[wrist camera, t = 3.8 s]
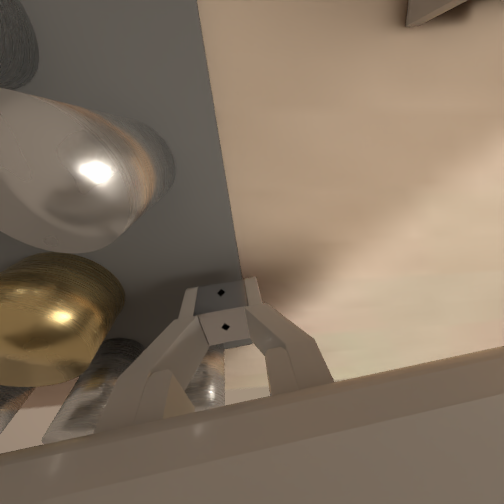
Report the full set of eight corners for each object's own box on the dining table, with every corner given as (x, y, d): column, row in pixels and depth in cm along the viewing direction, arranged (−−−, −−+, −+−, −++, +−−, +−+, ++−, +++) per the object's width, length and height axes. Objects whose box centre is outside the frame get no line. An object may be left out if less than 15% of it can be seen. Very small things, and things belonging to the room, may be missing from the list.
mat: (-720, -69, 3) (-827, -94, 3) (179, -101, 4) (176, -122, 4) (12, 383, 12) (6, 390, 12) (252, 338, 13) (252, 343, 13)
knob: (-19, 266, 8) (-139, 329, 5) (90, 241, 8) (26, 290, 5) (60, 331, 10) (4, 397, 7) (141, 311, 10) (115, 369, 7)
